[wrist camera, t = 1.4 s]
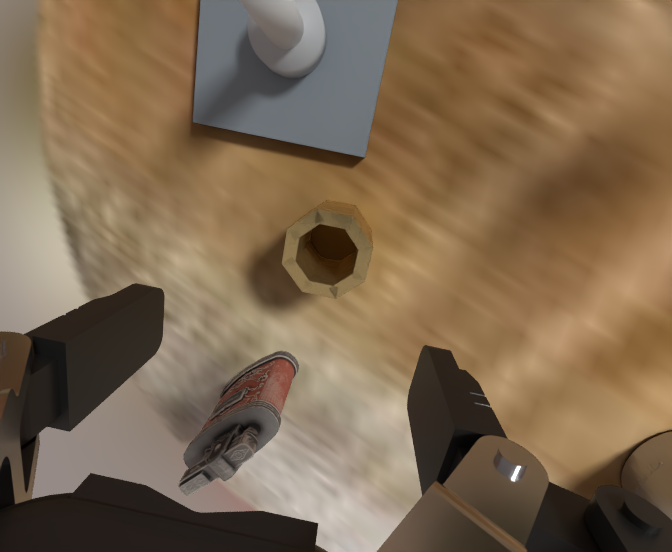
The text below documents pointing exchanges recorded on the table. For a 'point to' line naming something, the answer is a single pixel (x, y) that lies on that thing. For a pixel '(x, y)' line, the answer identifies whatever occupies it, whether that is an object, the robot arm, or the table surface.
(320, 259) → the bushing
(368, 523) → the table surface
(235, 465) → the small tin
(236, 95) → the grey peg stand
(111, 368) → the robot arm
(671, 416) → the table surface
